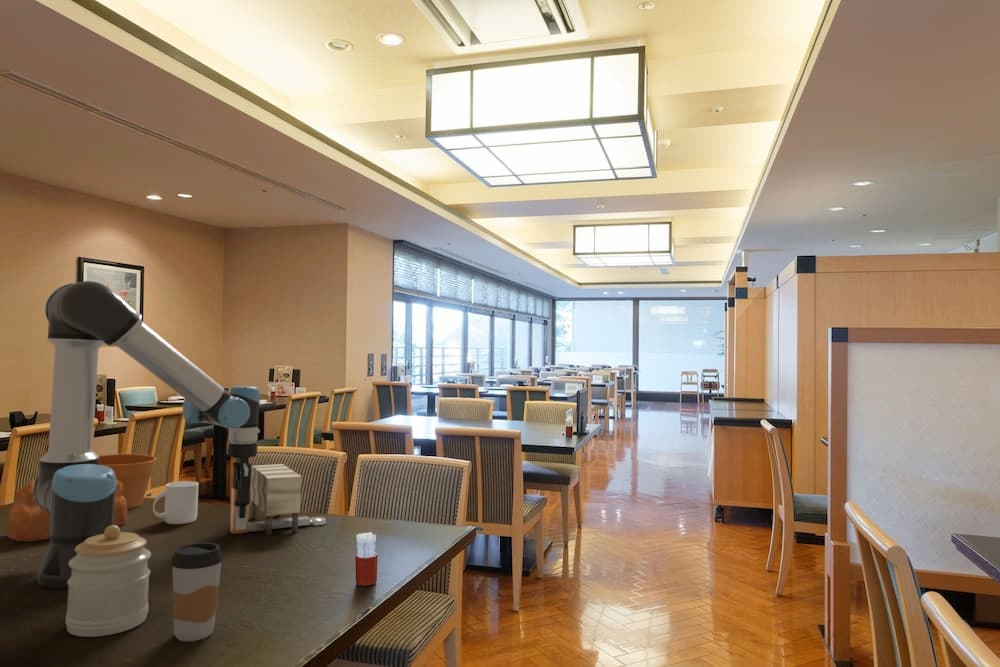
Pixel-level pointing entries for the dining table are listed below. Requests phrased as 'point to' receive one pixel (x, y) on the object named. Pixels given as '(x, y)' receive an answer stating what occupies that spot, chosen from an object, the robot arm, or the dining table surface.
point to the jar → (108, 584)
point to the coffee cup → (195, 589)
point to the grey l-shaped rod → (259, 524)
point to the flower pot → (131, 474)
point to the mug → (179, 502)
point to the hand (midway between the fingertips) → (239, 527)
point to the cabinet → (275, 493)
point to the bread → (47, 515)
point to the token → (317, 521)
